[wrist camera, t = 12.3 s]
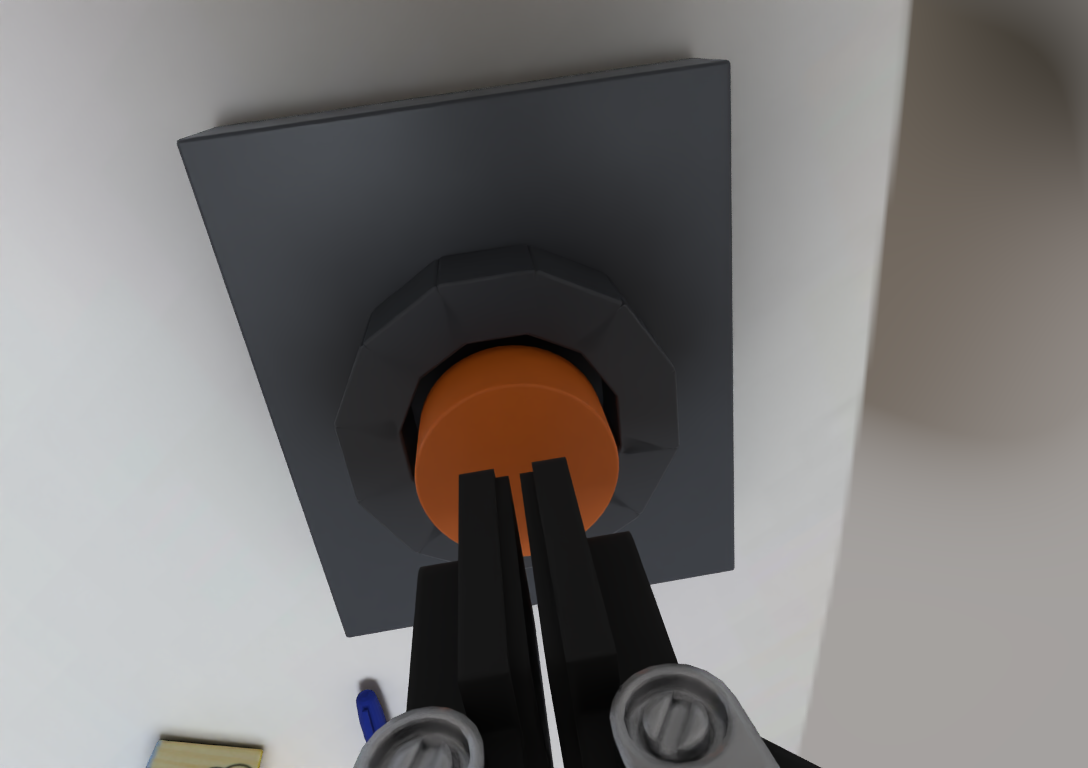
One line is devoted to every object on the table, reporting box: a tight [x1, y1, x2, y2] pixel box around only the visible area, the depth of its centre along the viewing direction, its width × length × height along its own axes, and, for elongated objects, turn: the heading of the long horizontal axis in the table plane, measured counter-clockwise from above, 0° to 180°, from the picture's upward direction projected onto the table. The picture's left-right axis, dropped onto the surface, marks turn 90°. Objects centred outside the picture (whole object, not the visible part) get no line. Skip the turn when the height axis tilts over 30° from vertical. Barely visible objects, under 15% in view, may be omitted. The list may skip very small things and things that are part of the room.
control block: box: [177, 58, 734, 637], centre depth 15 cm, size 12×10×4 cm
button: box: [415, 345, 619, 557], centre depth 13 cm, size 4×4×2 cm
